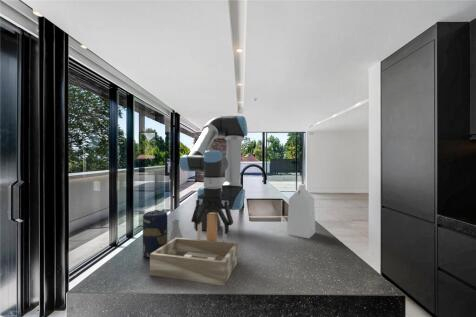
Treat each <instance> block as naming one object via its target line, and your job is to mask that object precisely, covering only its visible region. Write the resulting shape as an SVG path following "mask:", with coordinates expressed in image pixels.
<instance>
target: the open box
mask: <svg viewBox="0 0 476 317" xmlns="http://www.w3.org/2000/svg"><path fill="white" fill-rule="evenodd" d="M238 263H239V243H236V242H235V243H234V242H226V241H225V242H223V241H218V240H217V241H207V239H206V240H205V239H204V240H203V239H200V240H197V238H196V239H194V238H187V237H186V238H184V237H183V238H174V239H173V240H171V241H169V242H167V243H166V244H165V245H163V246H162V247H160V248H159V249H157V250H155V251H154V252H152V253H151V254H150V257H149V276H153V277H154V276H155V277H162V278H170V279H175V280H176V279H177V280H183V281H191V282H198V283H204V284H211V285H218V286H219V285H220V286H225V285H226V283H227V281H228V280H229V278H230V276H231V274H232V273H233V271H234V270H235V267H237V264H238Z"/></svg>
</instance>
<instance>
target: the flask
mask: <svg viewBox="0 0 476 317" xmlns="http://www.w3.org/2000/svg"><path fill="white" fill-rule="evenodd" d="M179 221H180V219H179V218H178V219H177V218H175V219H172V220H171V222H172V224H171V229H170V231H169V235H168V236H167V243H168V242H169V241H171V240H173V239H174V238H184V237H183V235H182V233H181V230H180V225H179Z"/></svg>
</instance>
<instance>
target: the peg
mask: <svg viewBox="0 0 476 317" xmlns="http://www.w3.org/2000/svg"><path fill="white" fill-rule="evenodd" d="M206 240H207V241H217V242H218V229H217V213H207V230H206Z"/></svg>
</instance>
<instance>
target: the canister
mask: <svg viewBox="0 0 476 317" xmlns="http://www.w3.org/2000/svg"><path fill="white" fill-rule="evenodd" d="M167 239H168V212H166V211H163V210H159V209H155V210H150V211H147V212H144V214H143V215H142V255H143V256H144V257H146V258H150V254H151V253H152V252H154V251H155V250H157V249H159V248H160V247H162V246H163V245H165V244H166V243H168V242H167Z"/></svg>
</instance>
